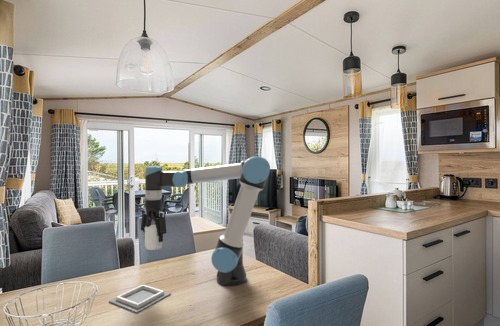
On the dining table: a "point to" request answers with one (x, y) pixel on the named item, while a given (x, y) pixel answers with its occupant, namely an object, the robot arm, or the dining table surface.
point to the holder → (139, 298)
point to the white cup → (150, 237)
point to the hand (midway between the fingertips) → (153, 247)
